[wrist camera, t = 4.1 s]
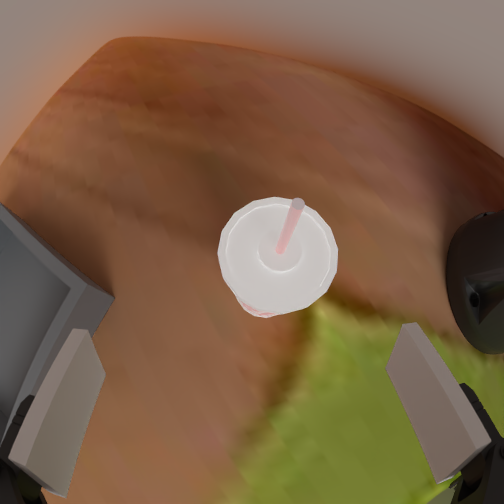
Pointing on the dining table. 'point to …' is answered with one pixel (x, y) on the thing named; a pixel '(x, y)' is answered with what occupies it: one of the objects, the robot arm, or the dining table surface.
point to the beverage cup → (277, 256)
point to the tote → (37, 310)
